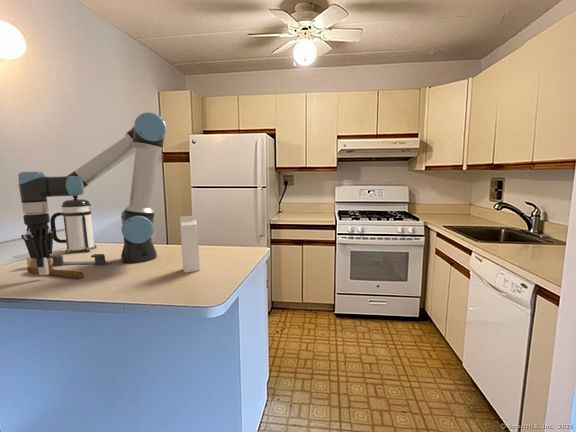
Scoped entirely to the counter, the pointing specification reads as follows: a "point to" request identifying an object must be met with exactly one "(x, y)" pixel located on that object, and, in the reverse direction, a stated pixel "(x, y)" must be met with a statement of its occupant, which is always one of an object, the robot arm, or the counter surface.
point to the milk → (189, 243)
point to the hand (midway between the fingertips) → (44, 274)
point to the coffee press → (76, 225)
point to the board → (59, 262)
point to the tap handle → (57, 272)
